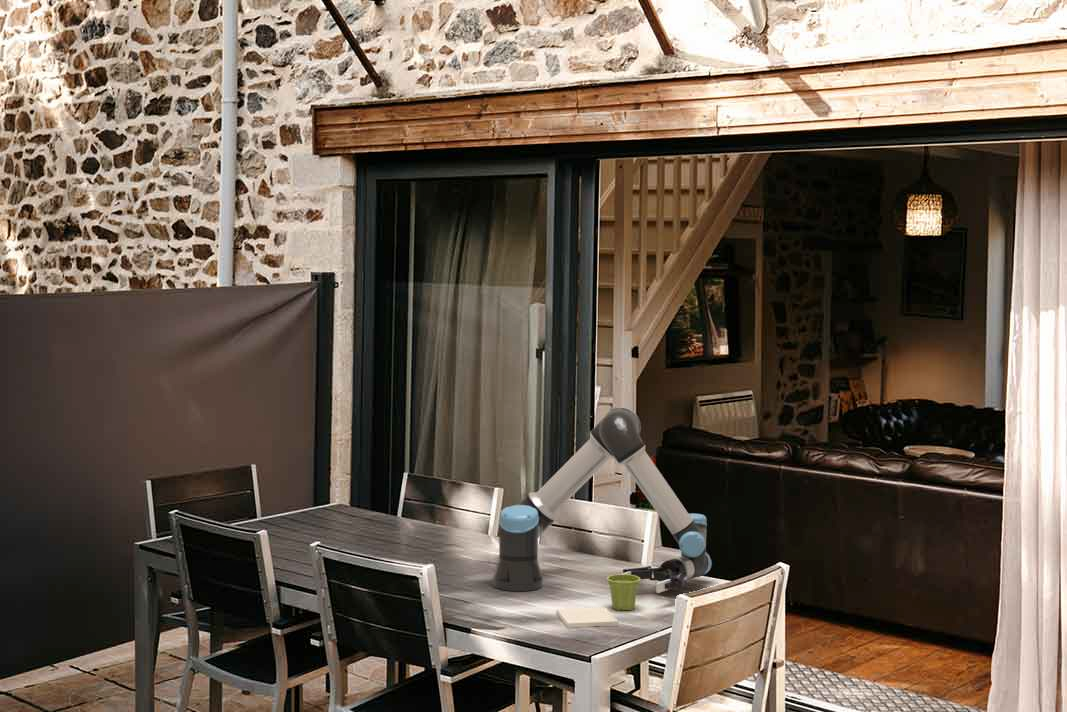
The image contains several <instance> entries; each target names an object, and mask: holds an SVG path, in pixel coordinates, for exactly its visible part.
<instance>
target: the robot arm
mask: <svg viewBox="0 0 1067 712" xmlns="http://www.w3.org/2000/svg"><path fill="white" fill-rule="evenodd" d="M641 429H642V427H641V421H640V418H639V417H638V415H637V414H636V412H634V411H633V410H631V409H630V408H627V407H615V408H612V409H611V410H609V411H608V412H607V413H606V414H605V415H604V417H603V418H601V420H600V421H599V422H598V423H597V424H596V425H595V426H594V427H593V428H592V429H591V430H590V432H589V439H588V440H587V441H586V442H585V443H584V444H583V445H582V446H581V447H580V448H579V449H578V450H577V451H576V452H575V453H574V454H573V455H572V456H571V457H570V459H568V461H566V462H565V463H564V465H563V466H562V467H560V468H559V470H557V471H556V472H555V474H554V475H552V477H550V479H548V481H547V482H546V483H545V484H544V485H543V486H542V487H540V489H539V490H538V491H536V492H534V491H533V492H531V491H530V492H529V493H528V494H527V495H526V496H525V497H523V499H522V500H521V501H520V502H519V503H517V504H514V505H510V506H506V507H504V508H503V509H502V510H501V511H500V513H499V519H498V523H499V539H498V540H499V542H498V543H499V544H498V545H499V549H498V550H499V551H498V557H499V558H498V562H497V566H496V569H495V571H494V575H493V578H492V579H493V580H492V585H493V587H494V588H496V589H499V590H502V591H509V592H510V591H511V592H529V591H535V590H539V589H541V588H542V587H543V586H544V584H543V583H544V577H543V574H542V571H541V567H540V563H539V559H538V555H539V553H538V552H539V551H538V550H539V548H538V547H539V543H538V542H539V537H540V536H541V535H542V534H543V533H544V532H545V531H546V530H547V529H548V528H549V527H550V526H551V525H552V524H553V523H554V522H555V521H556V519H557V512H558V511H559V510H560V509H561V508H562V507H563V506H564V505H565V504H566V503H568V502H569V500H570V499H571V498H572V497H573V496H574V495H575V494H576V493H577V492H578V491H579V490H580V489H581V488H582V487H583V486H584V485H585V484H586V483H587V482H588V481H589V480H590V479H591V478H592V477H593V476H594V475H595V474H596V473H598V471H599V470H600V469H601V468H602V467H603V466H604V465H605V464H606V463H607V462H608V461H609V460H610V459H615V460H616V461H617V463H618V464H619V465H622V466H623V467H625V469H626V470H627V472H628V474H630V476H631V477H632V478H633V480H634V481H635V483H636V485H637V486H638V487H639V489H640V490H641V492H642V493H643V494H644V496H645V498H646V499H647V500H648V502H649V503H650V505H652V508H653V509H654V510H655V511H656V513H657V514H658V516H659V518H660V519H661V521H663V523H664V525H665V526H666V527H667V529H668V531H670V533H671V535H672V536H673V538H674V539H675V541H676V542H677V544H678V547H679V549H680V556H677V557H674V558H671V559H668V560H665V561H663V562H662V563H661V565H660V566H659V567H652V566H650V565H649V566H644V567H635V568H624V569H622V574H628V575H634V576H638V577H640V580H650V581H652V582H653V581H658V582H656V584H655V593H656V594H660V593H662V592H666V591H668V590H671V589H672V590H675V589H676V588H677V590H682V589H683V587H684V585H685V584H686V583H687V581H689V580H693V579H696V578H700V577H702V576H704V575H706V574H708V573H709V572H710V570H711V568H712V565H713V563H712V559H711V557H710V555H709V554H708V552H707V527H708V524H707V517H706V515H704V514H701V513H689V512H688V511H687V509H686V508H685V507H684V504H682V502H681V501H680V499H679V498H678V497H677V495H676V493H675V492H674V490H673V489H672V488H671V486H670V485H669V484H668V482H667V480H666V479H665V478H664V476H663V474H662V473H661V472H660V471H659V469H658V467H657V466H656V464H655V463H654V461H653V460H652V459H651V457H650V456H649V454H648V453H647V452H646V444H645V443H644V441H643V439H642V438H641V436H640V434H641Z"/></svg>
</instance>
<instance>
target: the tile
mask: <svg viewBox="0 0 1067 712" xmlns="http://www.w3.org/2000/svg"><path fill="white" fill-rule="evenodd" d="M556 615H557V616H558V617H559V618H560V620H561V621H562V622H563V624H564V625H565V626H566V627H567V628H571V629H572V628H573V629H575V628H593V627H594V626H600V627H618V626H619V620H618V619H617V618H616V617H615V616H614V615H613V614H612V613H611V612H610V610H609V609H608V608H606V607H585V608H583V607H581V608H578V607H577V608H560V609H559V608H557V609H556Z"/></svg>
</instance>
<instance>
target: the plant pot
mask: <svg viewBox="0 0 1067 712" xmlns="http://www.w3.org/2000/svg"><path fill="white" fill-rule="evenodd" d="M606 579H607V582H608V584H609V589H610V595H611V596H610V597H611V606H612V609H614V610H616V611H621V610H622V611H625V610H628V611H631V610H632V611H633V610H634V608H635V605H636V597H637V590H638V586H639V583H640V581H641V579H640V577H638V576H634V575H628V574H623V573H618V574H611V575H608V576H607V577H606Z"/></svg>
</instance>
